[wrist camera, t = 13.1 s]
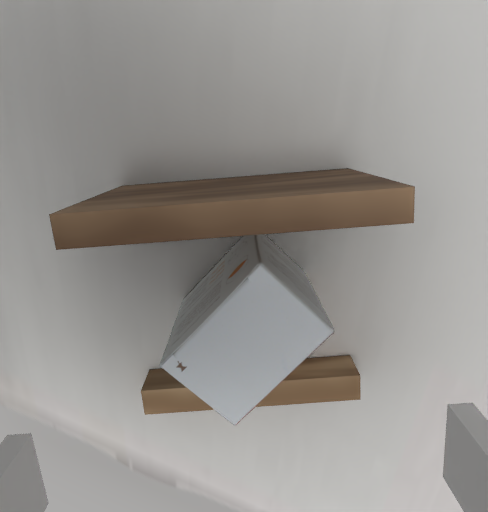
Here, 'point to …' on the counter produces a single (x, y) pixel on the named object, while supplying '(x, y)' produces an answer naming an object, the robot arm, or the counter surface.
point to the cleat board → (240, 224)
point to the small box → (245, 328)
